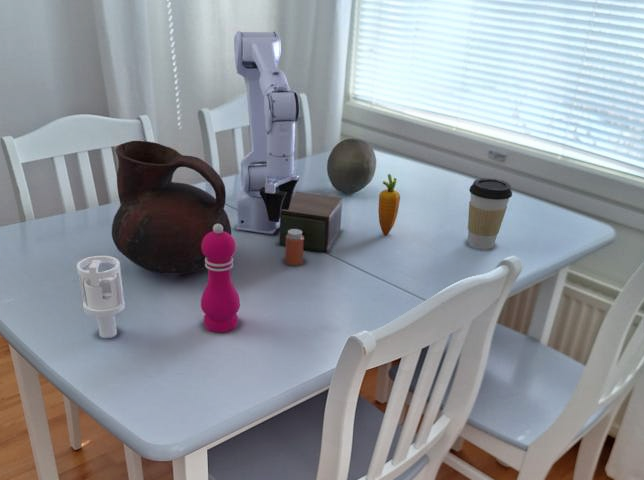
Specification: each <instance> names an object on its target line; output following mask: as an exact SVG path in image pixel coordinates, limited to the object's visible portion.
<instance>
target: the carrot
mask: <svg viewBox="0 0 644 480" xmlns="http://www.w3.org/2000/svg"><path fill="white" fill-rule="evenodd" d="M387 179H388V181H386V180H383V181H382V184H383V185H385V186H386V188H387V189H386V188H385V189H384V190H382V191H381V192H380V193H379V195H378V197H379V198H378V222H379V227H380V230H381V233H382V235H383V236H384V237H386V236H387V235H389V233H390V232H391V230H392V229H393V228H394V226H395V223H396V219H397V217H398V213H399V208H400V207H399V206H400V200H401V194H400V193H399V192H398V191H397V190H396V189H395V187H396V185H397V178H396V177H394V178H393V177H392V174H391V173H388V174H387Z"/></svg>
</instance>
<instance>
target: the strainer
mask: <svg viewBox="0 0 644 480" xmlns="http://www.w3.org/2000/svg"><path fill="white" fill-rule="evenodd" d="M101 263H102V264H103V263H104V264H105V263H106V264H111V265H113V266H114V267H112V268H111V269H107V270H101V271H99V267H100V265H101ZM87 266H88V269H87V270H86V269H85V270H84V268H85V267H87ZM76 270H77V274H78V279H79V280H78V281H79V286H80V287H79V288H80V293H81V298H82V307H83V311H84V313H85V314H86V315H88V316H90V317H91V316H92V317H96V320H97V326H98V334H99V337H100V338H102V339H111V338H114V337H116V336H117V335H118V331H117V323H116V316H115V315H117V314H120V313H121V312H122V311H123V310H125V307H126V304H125V303H126V301H125V297H124V289H123V281H122V280H123V279H122V271H121V263H120V260H119V259H118V258H117V257H114V256H111V255H94V256H88V257H85V258H83V259H81V260H80V261H78V262H77V264H76Z"/></svg>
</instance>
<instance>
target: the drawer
mask: <svg viewBox="0 0 644 480" xmlns="http://www.w3.org/2000/svg"><path fill="white" fill-rule="evenodd" d="M290 229H299V230H301V231H302V235H303V236H304V245H303V247H306V248H313V249H319V250H324V248H325V234H326V220H323V219H316V218H309V217H302V216H295V215H288V214H287V215H282V216H281V244H286V235H288V230H290Z"/></svg>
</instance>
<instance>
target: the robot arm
mask: <svg viewBox="0 0 644 480" xmlns="http://www.w3.org/2000/svg"><path fill="white" fill-rule="evenodd" d="M233 51H234V52H233V53H234V63H235V69H236V74H237V75H240V76H242V77H243V79H244V84H245V87H246V99H247V100H246V101H247V111H248V123H249V136H250V148H251V149H250V150H251V151H249V153H247V154H246V155H244V156H243V158H242V160H241V161H240V182H241V183H240V185H241V188H242V190H241V191H240V192H239V194H238V197H237V205H236V209H237V211H236V212H237V215H236V216H237V227H236V230H238V231H245V232H251V233H256V234H257V233H259V234H264V235H270V236H272V235H274V234H275V233H276V231H277V230H279V229H280V215H281V209H285V210H288V209H289V207H290V204H291V199H292V196H293V195H294V191H295V189H296V186H297V184H298V183H299V180H300V175H299V174H298V173H295V144H296V143H295V139H296V138H295V137H296V123H297V122H298V121H299V118H300V110H301V109H300V108H301V107H300V98H299V95H298V92H297V90H296V91H295V90H294V89H291V88H290V85H289V82H288V79H287V76H286V74H285V72H284V71H283V70H282V69H280V68H279V67H278V65H279V61H280V59H281V55H282V41H281V36H280V34H279V33H278V31H276V30H275V31H240V30H238V31H236V33H235V34H234V37H233Z"/></svg>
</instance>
